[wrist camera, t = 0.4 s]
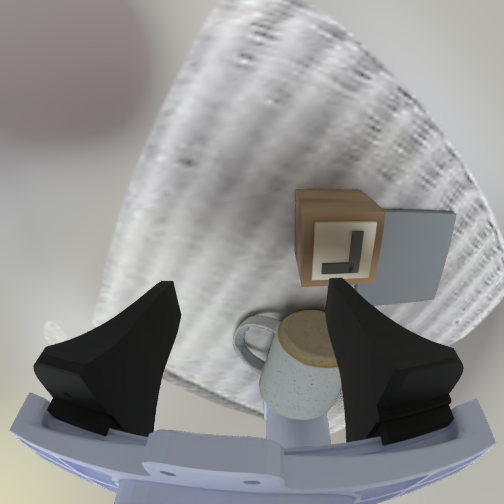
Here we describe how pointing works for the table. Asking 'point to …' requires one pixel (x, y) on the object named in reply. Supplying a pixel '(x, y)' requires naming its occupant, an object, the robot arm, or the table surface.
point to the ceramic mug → (294, 364)
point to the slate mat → (410, 256)
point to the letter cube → (337, 236)
